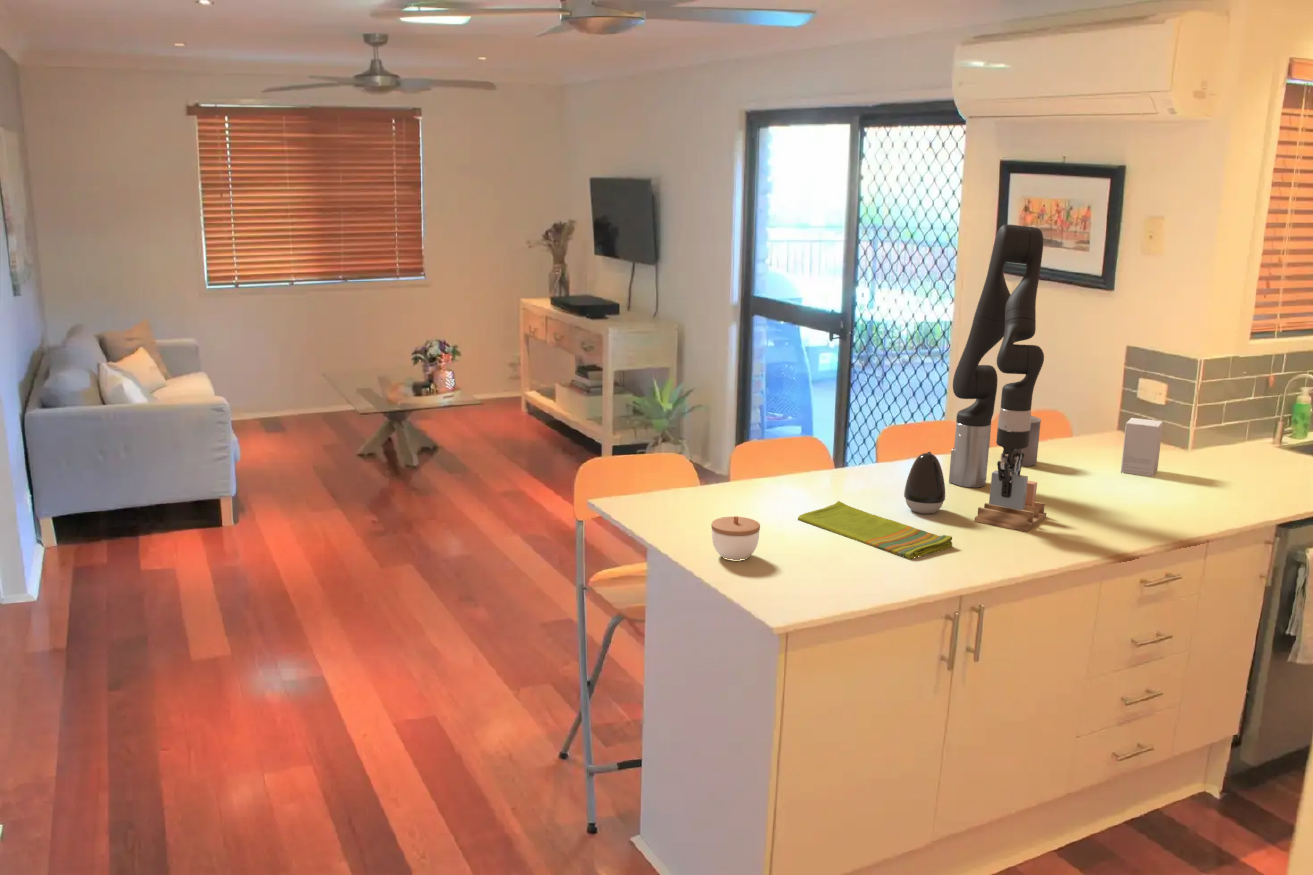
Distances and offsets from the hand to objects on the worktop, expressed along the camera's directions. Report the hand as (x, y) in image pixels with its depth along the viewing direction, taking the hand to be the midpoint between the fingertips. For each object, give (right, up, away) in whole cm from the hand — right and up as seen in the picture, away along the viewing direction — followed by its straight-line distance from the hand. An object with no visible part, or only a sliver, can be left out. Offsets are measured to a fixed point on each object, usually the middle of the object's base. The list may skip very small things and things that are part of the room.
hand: (1007, 495), depth 267 cm
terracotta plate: (+5, 0, +8) cm, 9 cm away
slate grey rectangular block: (0, +1, 0) cm, 1 cm away
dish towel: (-34, -9, -6) cm, 36 cm away
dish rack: (+2, -6, +5) cm, 9 cm away
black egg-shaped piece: (-18, -5, +11) cm, 22 cm away
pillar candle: (+23, +6, +60) cm, 64 cm away
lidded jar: (-69, -13, -24) cm, 74 cm away
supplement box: (+55, +4, +52) cm, 75 cm away
